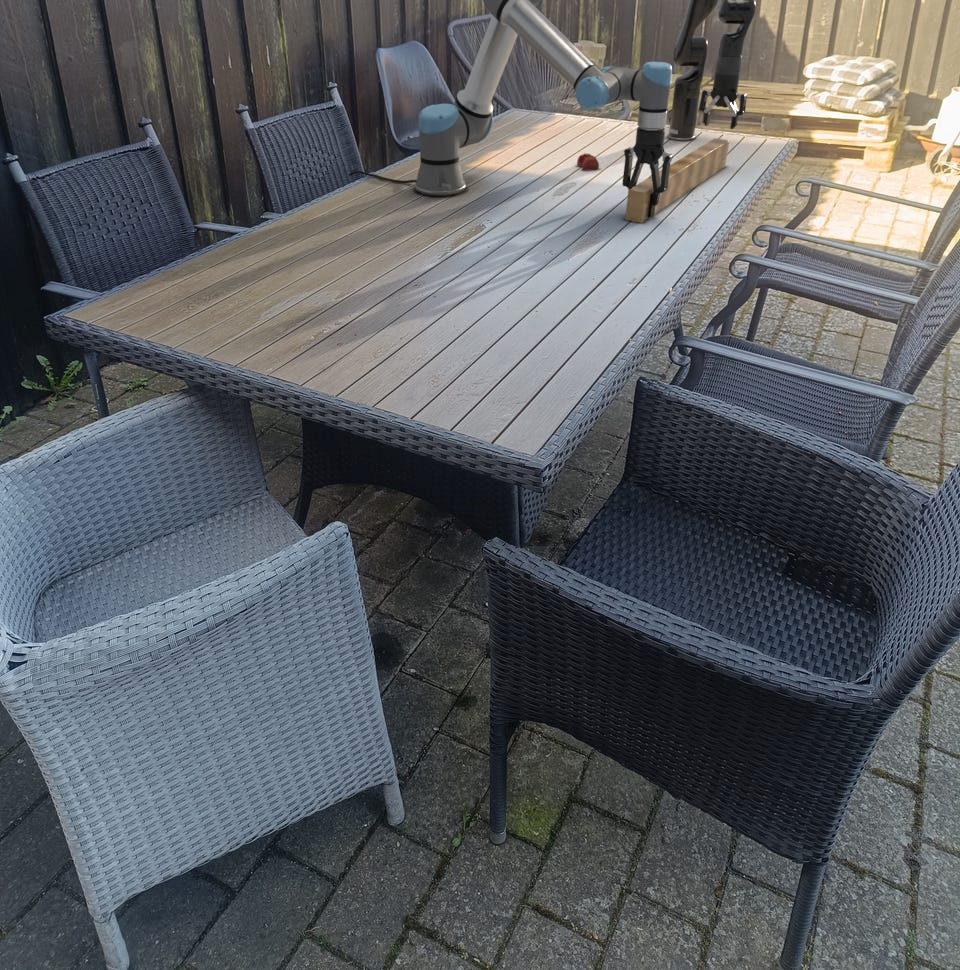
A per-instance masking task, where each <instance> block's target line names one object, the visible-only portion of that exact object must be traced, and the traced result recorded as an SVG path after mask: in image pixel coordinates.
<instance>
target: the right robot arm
mask: <svg viewBox="0 0 960 970" xmlns="http://www.w3.org/2000/svg"><path fill="white" fill-rule="evenodd" d="M719 3H720V6H719V10H718V19H719V21H720V22H721V23H722V24H724V25H738V27H737V28H736V29H735V30H733V31H730V32H726V33H723V34H722V35H721V38H720V44H719V50H718V56H717V60H716V64H715V67H714V68H715V71H714V78H713V84H712V90H709V89H708V88H706V89H703V90H702V83H703V79H704V75H705V74H704V73H705V69H706V65H707V64H706V63H707V59H708V54H709V53H708V52H709V43H708V39H707V38H706V37H705V36H694V35H695V32H696V31H697V29H698V28H699V27H700V26H701V25H702V23H704V21H705V20H707V18H709V16H710V15H712V13H713V12H714V11H715V10H716V8H717V7H718V5H719ZM756 12H757V3H756V0H721V2H720V0H689V4H688V7H687V10H686V13H685V17H684V20H683V23H682V26H681V29H680V31H679V33H678V37H677V39H676V42H675V45H674V50H673V63H674V64H675V66H677V67H690V69H689V70H688V71H687V72H686V73H684V74H682V75H679V76H678V77H676V79H675V81H674V88H673V97H672V106H671V114H670V117H669V119H668V121H669V122H668V123H669V127H668V136H667V137H668V139H671V140H673V141H674V140H675V141H691V140H694V139H695V134H696V133H695V132H696V126H697V118H698V111H702V112H703V121H702V123H703V124H704V126H705V127H708V126H709V124H710V118H711V111H712V109H713V108H714V107H715V106H716V107H718V108H720V107H722V108H724V109H725V108H728V110H729V111H730V113H731V114H732V116H731V121H730V128H729V129H730V130H734V129H735V128H736V127H737V125H738V120H739V116H743V115H744V114H746V107H747V98H748V94H747V93H746V92H745V93H738V89H739V84H740V77H741V72H742V71H741V70H742V66H743V65H742V64H743V53H744V47H745V43H746V42H745V41H746V38H747V36H748V32H749V31H750V27H751V24H752V22H753V21H754V18H755V15H756ZM701 91H702V92H701ZM709 97H711V99H712V100H711V102H709V103H708V105H707V100H708V98H709ZM737 99H738V102H739V109H738V106H737V104H736V102H735V101H736V100H737ZM706 105H707V106H706Z"/></svg>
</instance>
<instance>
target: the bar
mask: <svg viewBox="0 0 960 970" xmlns="http://www.w3.org/2000/svg"><path fill="white" fill-rule="evenodd" d="M729 145H730V140H729V139H722V138H713V139H711V140H709V141H707V143H705V144H703V145H701V146H699V147H698V148H696V149H694V150H693V151H691V152H689V153H688V154H686V155H684V156H683V157H681V158H679V159H678V160H676V161H674V162H673V163H670V170H669V179H668V188H667V190H666V191H665V192H663V193H660V197H659V203H658V205H656V206H655V213H654V215H656V214H657V213H658V212H661V211H662V210H663V209H665V208H666V207H668V206H669V205H671V204H672V203H673V202H675V201H676V200H678V199H679V198H681V197H682V196H684V195H686V193H689V192H690V191H692V190H693V189H694V188H696V187H697V186H698V185H700V184H702V183H703V182H705V181H706V180H708V179H709V178H711V177H712V176H713V175H715V174H717V173H718V172H719V171H721V170H722V169H724V168H725V167H726V164H727V159H728V152H729ZM661 175H662V169H661V170H659V176H660V185H661ZM651 193H653V184H652V175H650V176H649V177H647V178H646V179H644V180H642V181H641V182H639V183H637V184H636V186H634V187H632V188H631V189H629V190H627V201H626V207H625V208H626V209H625V221H628V222H629V221H630V222H634V223H635V222H636V223H639V224H643V223H644V222H645V221H647V220H648V219H650V218H649V217H648V212H649V203H650V195H651Z"/></svg>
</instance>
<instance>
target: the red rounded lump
mask: <svg viewBox="0 0 960 970" xmlns="http://www.w3.org/2000/svg"><path fill="white" fill-rule="evenodd" d="M576 161H577V162H576V165H577V166H581V169H582V170H583V171H584V170H597V169H599V168H600V163H599V161H598V159H597V156H594V155H592V154H590V153H587V152H586V153H582V154H580V155H579V156H578V158H577V160H576Z"/></svg>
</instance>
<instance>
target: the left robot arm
mask: <svg viewBox="0 0 960 970" xmlns="http://www.w3.org/2000/svg"><path fill="white" fill-rule="evenodd" d="M545 1H546V0H482V2H483V4H484V6H485V7H486V9H487V10H488V11H489V13H490V14H491V18H490V21H489V22H488V26H487V28H486V31H485V34H484V37H483V38H482V42H481V44H480V47H479V49H478V53H477V55H476V58H475V61H474V63H473V66H472V69H471V71H470V74H469V76H468V79H467V82H466V84H465V87H464V89H461V90H459V91H458V92H457V93H456V98H455V100H454V102H453V103H452V104H451V103H437V104H431V105H428V106H426V107H424V108H422V110H420V112H419V114H418V126H417V127H418V136H419V138H418V139H419V157H420V158H419V159H420V161H419V162H420V164H419V168H418V172H417V176H416V179H408V180H401V179H394V178H388V177H385V176H381V175H378V174H375V173H369V172H365V171H362V170H353V171H351V172H349V174H348V176H349V177H351V176H353V175H355V174H360V175H365V176H368V177H372V178H376V179H380V180H383V181H387V182H393V183H398V184H412V183H415V185H414V186H415V192H417V193H418V194H420V195H424V196H430V197H450V196H455V195H459V194H461V193H463V192H464V191H466V181H465V179H464V176H463V172H462V169H461V165H460V149H462V148H465V147H468V146H471V145H475V144H478V143H480V142H482V141H483V140H485V139H486V138H487V137H488V136H489V135H490V134H491V133H492V131H493V127H494V121H495V120H494V117H493V115H494V112H493V111H494V105H493V103H492V100H493V98H494V95H495V93H496V90H497V88H498V86H499V83H500V81H501V78H502V76H503V73H504V71H505V68H506V67H507V66H506V65H507V63H508V61H509V59H510V56H511V54H512V50H513V48H514V45H515V43H516V41H517V38H518V36H519V37H520V38H521V39H522V40H523V41H524V42H525V43H526V44H527V45H528V46H529V47H530V48H531V49H532V50H533V51H534V52H535V53H536V54H537V55H538V56H539V57H540V58H541V59H543V61H545V62H546V64H548V66H549V67H550V68H552V70H553V71H555V73H556V74H558V76H559V77H560V78H562V79H563V80H564V81H565V82H566V83H567V84H568V86H570V87H571V88H572V89H573V90H574V92H575V98H576V101H577V103H578V106H580V107H581V108H583V109H585V110H596V109H601V108H603V107H604V106H606V105H609V104H612V103H616V102H618V101H621V100H624V101H633V102H638V103H639V105H638V116H637V123H636V124H637V126H638V127H637V128H636V133H635V134H636V135H635V144H634V146H633V147H628V148H625V149H624V150H623V154H624V167H623V176H622V187H626V188H627V189H628V190H629V189H631V188H632V187H634V186H636V185H637V184H638V181H639V178H640V175H641V172H642V170H643V166H644V165H645V164H646V165H649V169H650V176H652V184H653V193H651V195H650V203H649V212H648V217H649V218H648V219H651V218H652V217H654V216H655V214H654V213H655V206H656V205H658V203H659V197H660V193H663V192H665V191H666V190H667V188H668V179H669V170H670V165H671V164H672V160H673V158H674V155H673V153H668V152H666V151H665V147H664V144H665V138H666V128H665V127H666V126H667V121H668V120H667V119H668V112H669V111H668V110H669V102H670V94H671V88H672V84H673V82H672V78H673V67H672V65H671V64H670V63H668V62H664V61H648V62H645V63H644V64H643V67H642V69H636V68H629V67H623V66H622V67H621V66H619V65H613V66H611V65H610V66H608V65H607V66H604V67H603V68H602V70H600V69H599V68H598V67H597V66H596V65H595V64H594V62H592V61H591V60H590V59H589V58H588V57H587V56H586V55H585V54H584V53H583V52H581V50H580V49H579V48H578V47H576V45H575V44H574V43H572V42H571V40H569V38H568V37H566V35H564V33H563V32H562V31H560V30H559V29H558V28H557V26H556V25H554V24H553V23H552V22H551V21H550V20H549V19H548V18H547V17H546V16H545V15H544V14H543V13H542V12H541V11H540V10H539V9H538V8H537V7H540V6H541V5H542V4H543V3H545ZM634 155H635V156H636V158H637V159H636V161H635V166H634V168H633V161H634ZM661 158H662V166H661V170H662V175H661V185H660V176H659V171H660V169H659V168H660V159H661ZM632 168H633V171H632ZM628 190H627V191H628Z"/></svg>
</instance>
